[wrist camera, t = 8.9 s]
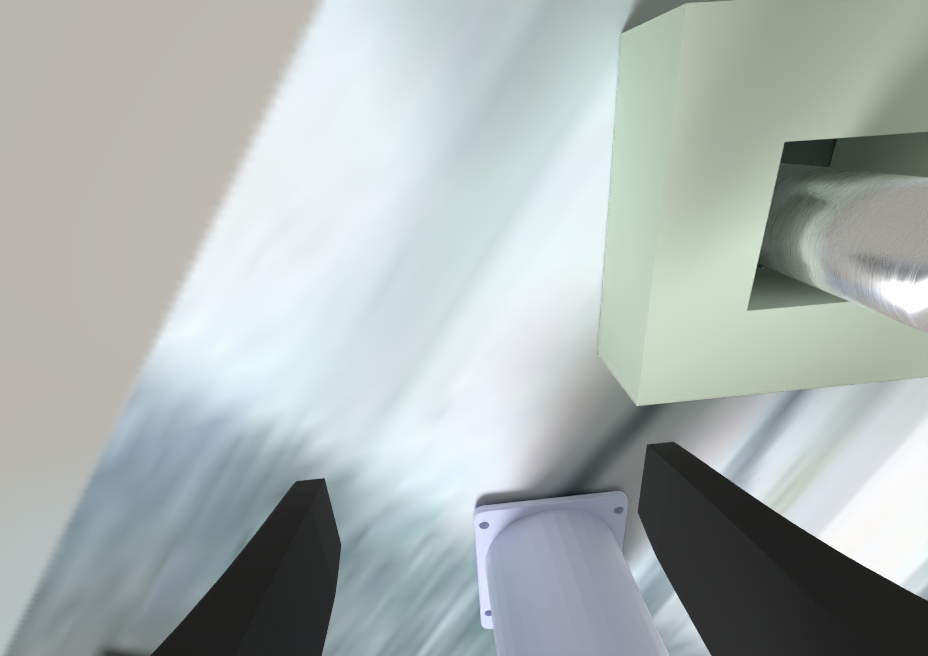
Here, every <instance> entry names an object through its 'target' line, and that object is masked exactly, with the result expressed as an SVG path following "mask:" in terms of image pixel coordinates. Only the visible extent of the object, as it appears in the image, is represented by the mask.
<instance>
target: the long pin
mask: <svg viewBox="0 0 928 656" xmlns="http://www.w3.org/2000/svg"><path fill="white" fill-rule="evenodd" d="M757 264H760V265H762V266H765V267H767V268H769V269H772V270H774V271H777V272H779V273H782V274H784V275H786V276H789V277H791V278H794V279H796V280H799V281H801V282H803V283H806V284H808V285H811V286H813V287H816V288H818V289H820V290H823V291H825V292H828V293H830V294H833V295H835V296H837V297H840V298H842V299H845V300H847V301H850V302H852V303H854V304H857V305H859V306H862V307H864V308H867V309H869V310H871V311H874V312H876V313H879V314H881V315H884V316H886V317H888V318H891V319H893V320H896V321H898V322H901V323H903V324H905V325H908V326H910V327H913V328H915V329H918V330H920V331H922V332H925V333H927V334H928V177H918V176H908V175H898V174H889V173H879V172H869V171H859V170H849V169H839V168H829V167H819V166H809V165H799V164H789V163H780V165H779V169H778V174H777V178H776V183H775V187H774V192H773V196H772V201H771V205H770V210H769V214H768V218H767V223H766V227H765V232H764V236H763V241H762V245H761V250H760V254H759V259H758V263H757Z"/></svg>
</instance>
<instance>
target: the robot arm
mask: <svg viewBox="0 0 928 656" xmlns="http://www.w3.org/2000/svg"><path fill="white" fill-rule="evenodd" d="M628 502H629V501H628V498H627V496H626V494H625V493H624V492H622V491H612V492H602V493H593V494H584V495H575V496H566V497H557V498H548V499H538V500H529V501H520V502H511V503H502V504H493V505H483V506H479V507H477V508H476V509H475V510H474V513H473V517H474V531H475V545H476V559H477V573H478V587H479V602H480V616H481V625H482V626H483V627H484V628H486V629H492V628H493V629H494V636H495V643H496V651H497V656H669V654H668V651H667V649H666V647H665V645H664V643H663V641H662V638H661V636H660V634H659V632H658V630H657V628H656V625H655V623H654V621H653V619H652V617H651V615H650V613H649V610H648V608H647V606H646V604H645V602H644V600H643V597H642V595H641V593H640V591H639V589H638V587H637V584H636V582H635V580H634V578H633V576H632V574H631V572H630V569H629V567H628V565H627V563H626V561H625V559H624V556H623V554H622V549H623V541H624V533H625V525H626V518H627V510H628ZM616 507H618V508H616ZM638 514H639V516H640V519H641V521H642V524H643V526H644V529H645V531H646V534H647V536H648V538H649V541H650V543H651V545H652V548H653V550H654V552H655V555H656V557H657V559H658V561H659V562H660V564H661V566H662V568H663V570H664V572H665V573H666V575H667V577H668V579H669V581H670V582H671V584H672V586H673V588H674V590H675V592H676V593H677V595H678V597H679V599H680V600H681V602H682V604H683V606H684V608H685V609H686V611H687V613H688V615H689V617H690V618H691V620H692V622H693V624H694V625H695V627H696V629H697V631H698V633H699V634H700V636H701V638H702V640H703V641H704V643H705V645H706V647H707V649H708V650H709V652H710V654H711V656H928V601H927V600H925V599H923V598H921V597H919V596H917V595H915V594H913V593H911V592H910V591H908V590H906V589H904V588H902V587H901V586H899V585H897V584H895V583H893V582H892V581H890V580H888V579H886V578H884V577H882V576H881V575H879V574H877V573H875V572H873V571H872V570H870V569H868V568H866V567H864V566H863V565H861V564H859V563H857V562H856V561H854V560H852V559H851V558H849V557H847V556H845V555H844V554H842V553H840V552H839V551H837V550H835V549H834V548H832V547H830V546H829V545H827V544H826V543H824V542H822V541H821V540H819V539H817V538H816V537H814V536H813V535H811V534H809V533H808V532H806V531H805V530H803V529H801V528H800V527H798V526H797V525H795V524H793V523H792V522H790V521H789V520H787V519H786V518H784V517H783V516H781V515H780V514H778V513H777V512H775V511H774V510H772V509H771V508H769V507H768V506H766V505H765V504H763V503H762V502H760V501H759V500H757V499H756V498H754V497H753V496H751V495H750V494H748V493H747V492H745V491H744V490H743V489H741V488H740V487H738V486H737V485H735V484H734V483H732V482H731V481H730V480H728V479H727V478H725V477H724V476H722V475H721V474H720V473H718V472H717V471H715V470H714V469H712V468H711V467H710V466H708V465H707V464H705V463H704V462H702V461H701V460H700V459H698V458H697V457H695V456H694V455H692V454H691V453H689V452H688V451H687V450H685V449H684V448H682V447H681V446H679V445H678V444H676V443H674V442H668V443H658V444H649V445H647V449H646V456H645V464H644V471H643V478H642V485H641V492H640V499H639V506H638ZM481 522H485V523H481ZM340 551H341V542H340V538H339V534H338V530H337V526H336V522H335V518H334V514H333V510H332V506H331V502H330V498H329V494H328V490H327V486H326V482H325V478H323V479H313V480H304V481H296V482H295V483H294V484H293V485H292V487H291V488H290V489H289V491H288V492H287V493H286V494H285V496H284V497H283V498H282V500H281V501H280V502H279V504H278V505H277V506H276V508H275V509H274V510H273V512H272V513H271V514H270V515H269V517H268V518H267V519H266V521H265V522H264V523H263V525H262V526H261V527H260V528H259V530H258V531H257V532H256V534H255V535H254V536H253V538H252V539H251V540H250V541H249V543H248V544H247V545H246V546H245V548H244V549H243V550H242V551H241V552H240V554H239V555H238V556H237V557H236V559H235V560H234V561H233V562H232V564H231V565H230V566H229V567H228V569H227V570H226V571H225V572H224V574H223V575H222V576H221V577H220V578H219V580H218V581H217V582H216V583H215V584H214V585H213V586H212V588H211V589H210V590H209V591H208V592H207V593H206V595H205V596H204V597H203V598H202V599H201V600H200V601H199V603H198V604H197V605H196V606H195V607H194V608H193V609H192V611H191V612H190V613H189V614H188V615H187V616H186V618H185V619H184V620H183V621H182V622H181V623H180V624H179V625H178V626H177V628H176V629H175V630H174V631H173V632H172V633H171V634H170V635H169V636H168V637H167V638H166V639H165V641H164V642H163V643H162V644H161V645H160V646H159V647H158V648H157V649H156V650H155V651H154V652H153V653H152V654H151V655H150V656H322V652H323V647H324V643H325V639H326V634H327V630H328V625H329V621H330V616H331V612H332V607H333V603H334V598H335V593H336V585H337V578H338V569H339V560H340Z"/></svg>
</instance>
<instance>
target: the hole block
mask: <svg viewBox="0 0 928 656" xmlns="http://www.w3.org/2000/svg"><path fill="white" fill-rule="evenodd" d="M833 138H837V140H836V144H835V148H834V151H833V155H832V159H831V163H830V166H829V168H839V169H849V170H859V171H869V172H879V173H889V174H898V175H908V176H918V177H928V0H732V1H714V2H695V3H685V4H683V5H681V6H679V7H677V8H674V9H672V10H670V11H668V12H666V13H664V14H662V15H660V16H657V17H655V18H653V19H651V20H649V21H647V22H645V23H643V24H641V25H638V26H636V27H634V28H632V29H630V30H628V31H626V32H624V33H621V43H620V56H619V70H618V83H617V97H616V110H615V124H614V137H613V151H612V164H611V178H610V191H609V205H608V218H607V232H606V245H605V259H604V272H603V286H602V299H601V313H600V326H599V340H598V353H597V354H598V356H599V357H600V358H601V360H602V361H603V362H604V364H605V365H606V366H607V368H608V369H609V370H610V372H611V373H612V374H613V376H614V377H615V378H616V379H617V381H618V382H619V383H620V385H621V386H622V387H623V389H624V390H625V391H626V393H627V394H628V395H629V397H630V398H631V399H632V401H633V402H634V403H635V404H636V406H642V405H652V404H662V403H672V402H682V401H692V400H702V399H712V398H722V397H732V396H742V395H752V394H762V393H772V392H782V391H792V390H802V389H812V388H822V387H832V386H842V385H852V384H862V383H872V382H882V381H892V380H902V379H912V378H922V377H928V334H927V333H925V332H922V331H920V330H918V329H915V328H913V327H910V326H908V325H905V324H903V323H901V322H898V321H896V320H893V319H891V318H888V317H886V316H884V315H881V314H879V313H876V312H874V311H871V310H869V309H867V308H864V307H862V306H859V305H857V304H854V303H852V302H850V301H847V300H845V299H842V298H840V297H837V296H835V295H833V294H830V293H828V292H825V291H823V290H820V289H818V288H816V287H813V286H811V285H808V284H806V283H803V282H801V281H799V280H796V279H794V278H791V277H789V276H786V275H784V274H782V273H779V272H777V271H774V270H772V269H769V268H767V267H765V268H757V263H758V259H759V254H760V250H761V245H762V241H763V236H764V232H765V227H766V223H767V218H768V214H769V210H770V205H771V201H772V196H773V192H774V187H775V183H776V178H777V174H778V169H779V165H780V160H781V156H782V151H783V147H784V142H791V141H805V140H819V139H833Z"/></svg>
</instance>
